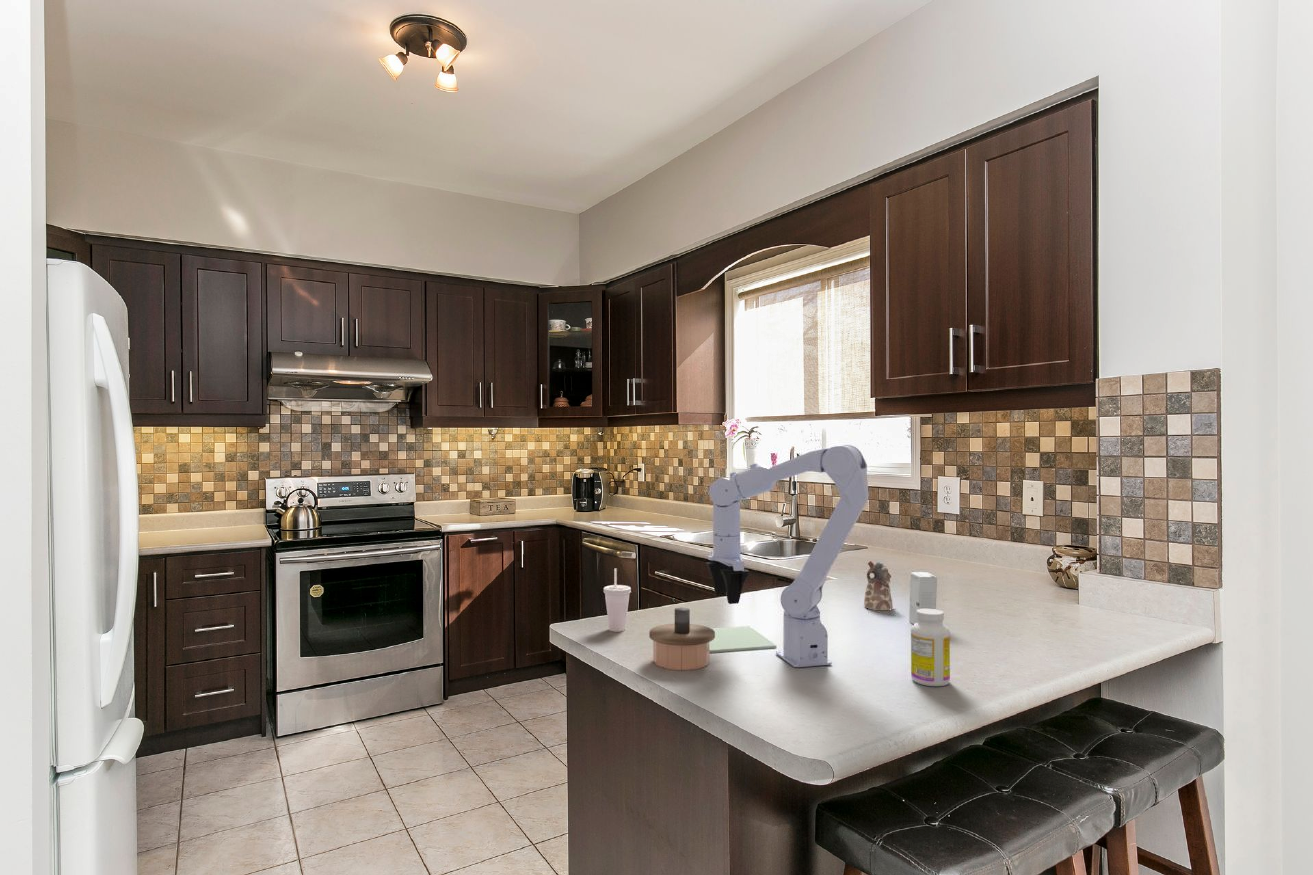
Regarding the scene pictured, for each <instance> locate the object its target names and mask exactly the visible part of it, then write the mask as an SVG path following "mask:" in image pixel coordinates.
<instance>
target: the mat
mask: <svg viewBox="0 0 1313 875" xmlns="http://www.w3.org/2000/svg"><path fill="white" fill-rule="evenodd" d="M711 629H713V630H714V631H715V638H714V639H713V640H712V641H710V642H709V654H710V653H724V652H739V651H750V650H763V649H764V650H765V649H766V650H767V649H777V644H775V643H774V642H772V641H771V640H770V639H768V638H767V637H765V636H764V635H762V634H761V633H759V632H758V631H757V630H755V629H754V628H753V627H751V626H749V625H747V626H746V625H745V626H732V627H731V626H730V627H716V628H715V627H714V628H712V627H711Z"/></svg>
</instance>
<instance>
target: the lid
mask: <svg viewBox="0 0 1313 875" xmlns="http://www.w3.org/2000/svg"><path fill="white" fill-rule="evenodd" d="M690 611H691V610H690V608H688V607H676V608H674V623H668V624H662V625H658V626H655V627H653V628H651V629H650V630H649V633H648V635H649V636H648V637H649V638H650V639H651V640H652V642H653V641H656V642H659V643H662V644H668V645H680V646H687V645H699V644H704V643H708V642H710V641H712V640H713V639H714V638H715V631H714V630H713V629H712V627H708V626H705V625H701V624H694V623H691V622H690V620H691V619H690V618H691V617H690V616H691V615H690V613H691V612H690Z"/></svg>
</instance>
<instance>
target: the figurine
mask: <svg viewBox="0 0 1313 875" xmlns="http://www.w3.org/2000/svg"><path fill="white" fill-rule="evenodd" d="M867 565H868V567H869V569H868V570H867V572H866V578H867V584H866V588H865V593H864V598H863V601H864V603H863V606H864V608H865V607H866V608H865V609H867V608H869V609H873V610H872V611H874V610H890V609H892V608H893V609H894V607H893V606H894V605H893V598H892V594H891V588H890V583H891V577H892V575H891V574H890V573H889V570H888V569H889V568H887V565H885V564H884V563H883V562H881V561H878V562H876V563H875V564H874V563H873V562H872V561H871V560H869V561H868V562H867ZM871 574H873V575H874V576H873V577H871V576H870V575H871ZM869 609H868V610H869ZM893 609H892V610H893ZM890 611H891V610H890Z"/></svg>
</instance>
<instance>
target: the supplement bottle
mask: <svg viewBox="0 0 1313 875" xmlns="http://www.w3.org/2000/svg"><path fill="white" fill-rule="evenodd" d="M944 614H945V613H944V611H943V610H939V609H937V608H936V609H918V610H917V611H916V617H917V619H918V622H917V623H915V624H914V625H913V624H912V626H911V627H910V662H911V663H910V671H911V672H910V673H911V674H910V676H911V679H912V681H913V682H915V683H916V684H919V685H922V686H925V687H943V686H946V685H948V684H949V683H950V681H951V680H950V679H951V678H950V677H951V676H950V675H951V667H950V666H951V660H950V659H951V658H950V657H951V652H950V650H951V649H950V645H951V643H950V641H951V640H950V638H951V633H950V630H949V629H950V628H949V627H947V625H944V623H943V622H944V619H945V615H944Z"/></svg>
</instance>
